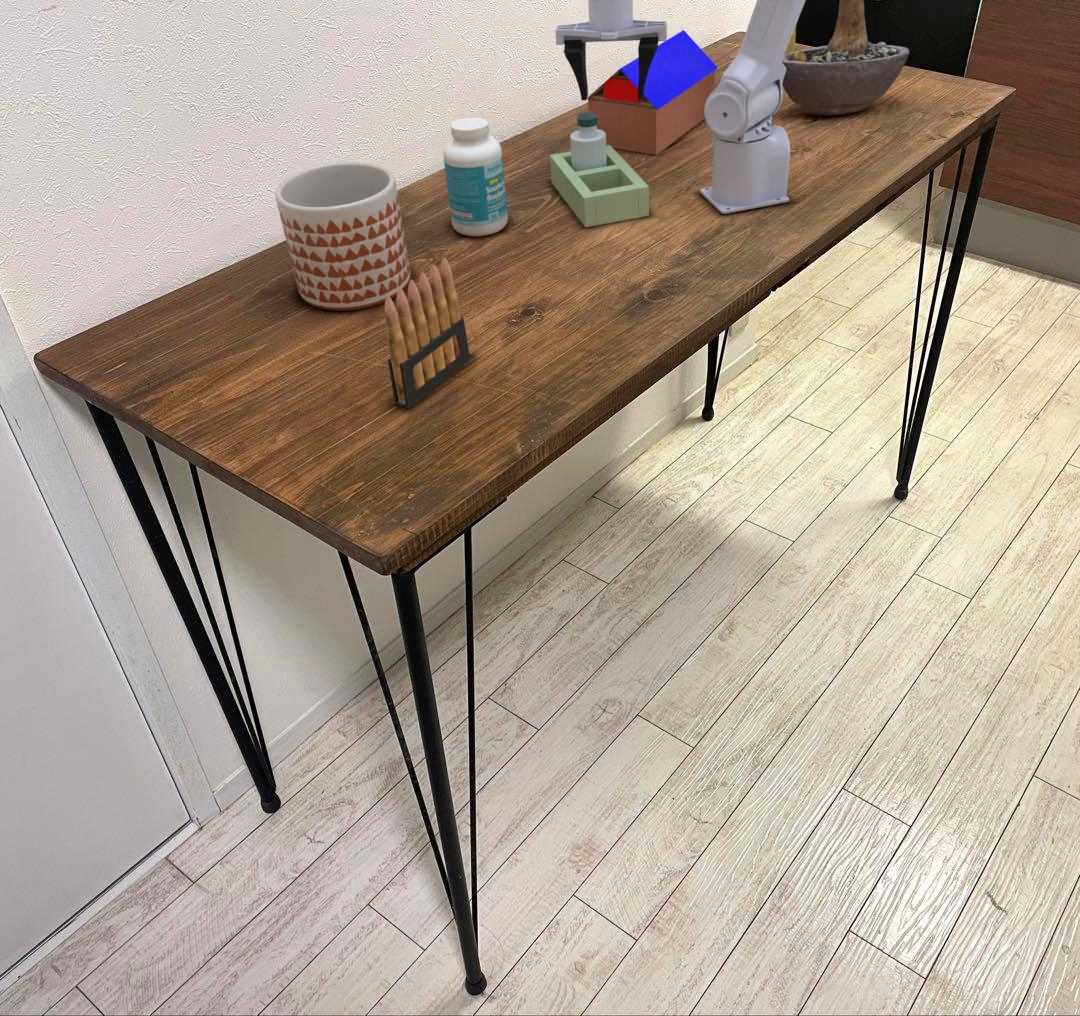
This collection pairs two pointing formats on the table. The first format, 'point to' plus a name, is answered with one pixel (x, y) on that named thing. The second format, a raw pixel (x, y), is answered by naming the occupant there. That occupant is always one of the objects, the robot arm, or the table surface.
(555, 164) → the tray
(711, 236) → the table surface
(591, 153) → the bottle
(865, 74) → the planter
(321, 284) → the patterned ceramic pot
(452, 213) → the pill bottle
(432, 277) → the ammunition clip
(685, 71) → the house
